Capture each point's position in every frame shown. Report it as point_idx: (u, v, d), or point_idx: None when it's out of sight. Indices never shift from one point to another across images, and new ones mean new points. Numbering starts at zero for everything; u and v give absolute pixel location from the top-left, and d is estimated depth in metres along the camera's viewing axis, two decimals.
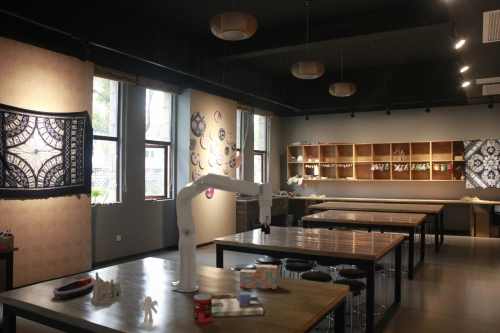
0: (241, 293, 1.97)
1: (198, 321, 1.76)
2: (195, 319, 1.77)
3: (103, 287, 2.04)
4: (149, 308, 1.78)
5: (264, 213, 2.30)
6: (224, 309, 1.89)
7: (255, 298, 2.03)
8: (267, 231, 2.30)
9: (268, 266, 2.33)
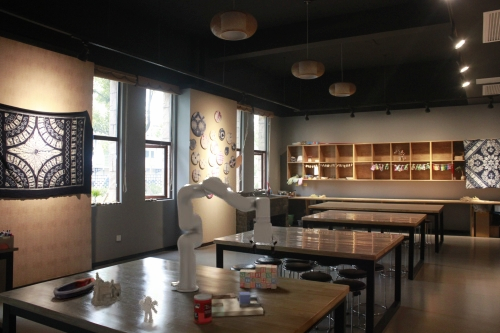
0: (241, 293, 1.97)
1: (198, 321, 1.76)
2: (195, 319, 1.77)
3: (103, 287, 2.04)
4: (149, 308, 1.78)
5: (271, 231, 2.10)
6: (224, 309, 1.89)
7: (255, 298, 2.03)
8: (273, 250, 2.11)
9: (268, 266, 2.33)
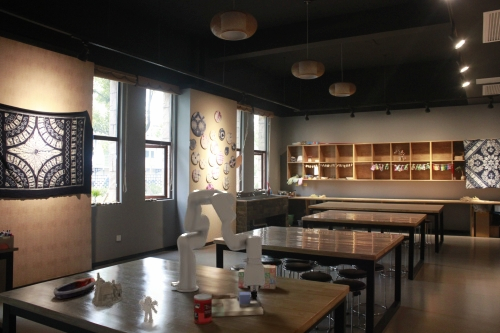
0: (241, 293, 1.97)
1: (198, 321, 1.76)
2: (195, 319, 1.77)
3: (105, 287, 2.04)
4: (149, 308, 1.78)
5: None
6: (224, 309, 1.89)
7: None
8: None
9: (266, 266, 2.33)
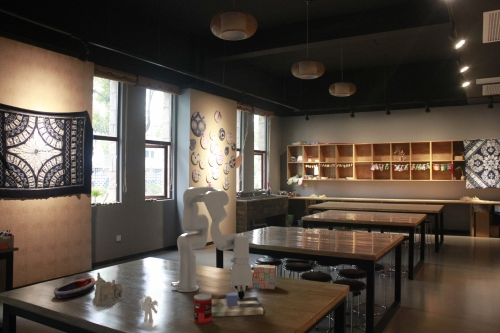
0: (228, 294, 1.96)
1: (198, 321, 1.76)
2: (195, 319, 1.77)
3: (105, 287, 2.04)
4: (149, 308, 1.78)
5: (251, 272, 1.97)
6: (224, 309, 1.89)
7: (255, 298, 2.03)
8: None
9: (266, 266, 2.33)
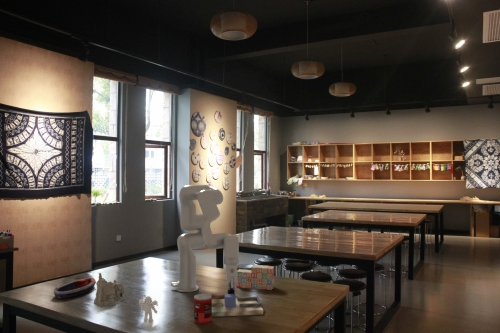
0: (226, 295, 1.94)
1: (198, 321, 1.76)
2: (195, 319, 1.77)
3: (107, 288, 2.03)
4: (149, 308, 1.78)
5: None
6: (224, 309, 1.89)
7: (255, 298, 2.03)
8: None
9: (264, 267, 2.31)
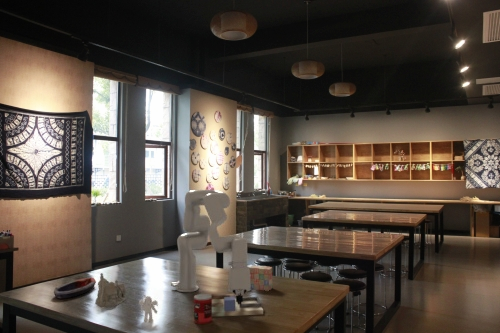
0: (226, 298, 1.89)
1: (198, 321, 1.76)
2: (195, 319, 1.77)
3: (109, 288, 2.03)
4: (149, 308, 1.78)
5: None
6: None
7: (255, 298, 2.03)
8: None
9: (262, 267, 2.30)
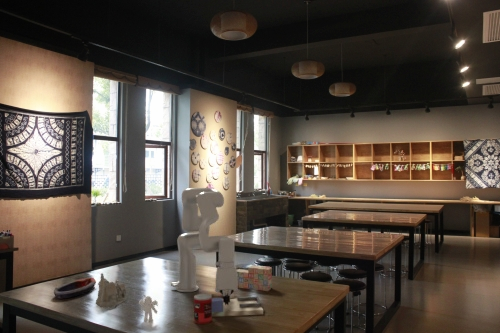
0: (213, 299, 1.88)
1: (198, 321, 1.76)
2: (195, 319, 1.77)
3: (109, 288, 2.02)
4: (149, 308, 1.78)
5: None
6: (224, 309, 1.89)
7: (255, 298, 2.03)
8: None
9: (261, 267, 2.30)
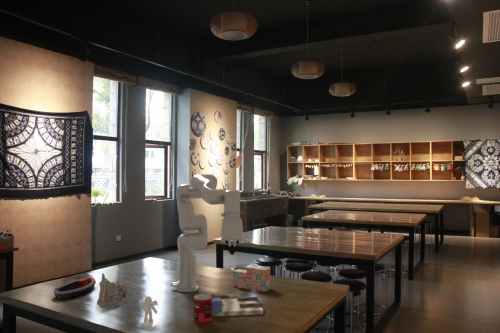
0: (212, 299, 1.88)
1: (198, 321, 1.76)
2: (195, 319, 1.77)
3: (110, 288, 2.02)
4: (149, 308, 1.78)
5: (242, 226, 1.92)
6: (224, 309, 1.89)
7: (255, 298, 2.03)
8: (234, 250, 1.93)
9: (259, 268, 2.29)
